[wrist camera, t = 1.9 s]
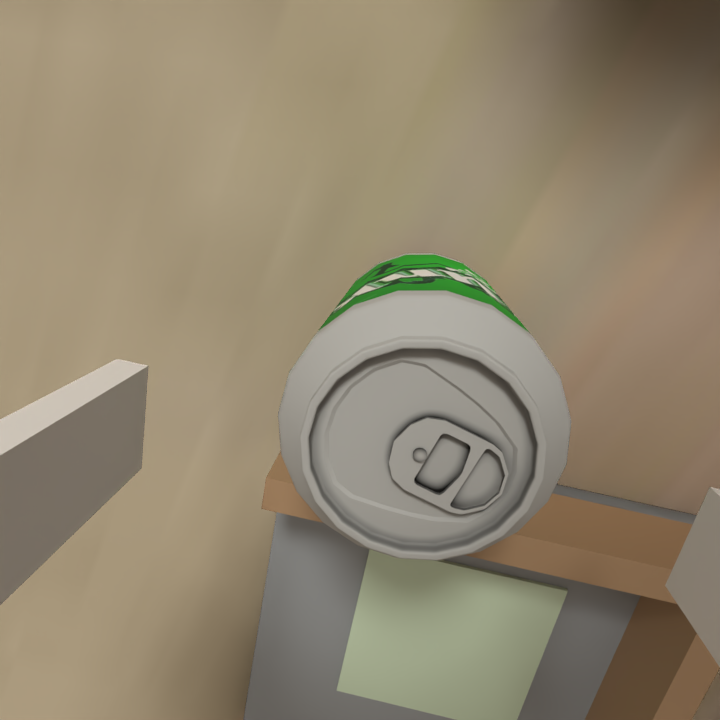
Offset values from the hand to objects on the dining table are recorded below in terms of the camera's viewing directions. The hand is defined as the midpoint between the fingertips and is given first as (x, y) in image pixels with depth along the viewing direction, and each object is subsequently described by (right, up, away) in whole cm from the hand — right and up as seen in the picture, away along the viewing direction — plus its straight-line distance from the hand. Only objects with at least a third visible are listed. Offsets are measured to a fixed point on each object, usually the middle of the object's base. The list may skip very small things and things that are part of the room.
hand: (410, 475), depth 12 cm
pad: (+3, -12, +16) cm, 21 cm away
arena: (+3, -12, +16) cm, 21 cm away
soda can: (+2, +4, +12) cm, 13 cm away
